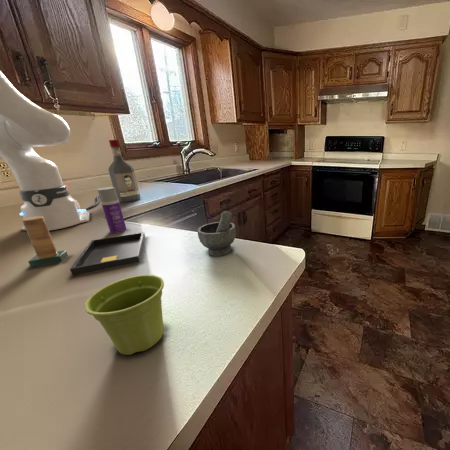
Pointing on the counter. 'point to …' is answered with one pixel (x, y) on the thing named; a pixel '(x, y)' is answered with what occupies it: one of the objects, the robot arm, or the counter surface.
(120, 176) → the liquor
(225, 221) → the mortar and pestle
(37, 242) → the brush
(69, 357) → the counter surface
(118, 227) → the container
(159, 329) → the plant pot
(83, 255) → the pan
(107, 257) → the block
